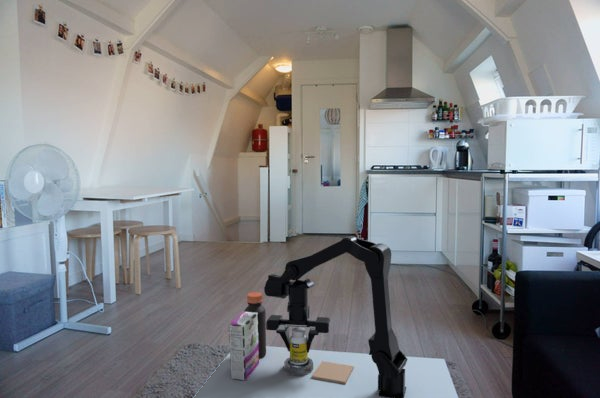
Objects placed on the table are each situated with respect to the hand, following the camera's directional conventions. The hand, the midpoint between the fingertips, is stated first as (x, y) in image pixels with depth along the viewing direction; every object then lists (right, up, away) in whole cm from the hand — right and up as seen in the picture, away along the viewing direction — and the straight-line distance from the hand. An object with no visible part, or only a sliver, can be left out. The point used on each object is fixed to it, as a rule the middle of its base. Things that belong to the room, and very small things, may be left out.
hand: (298, 351), depth 126 cm
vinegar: (-14, -5, +10) cm, 18 cm away
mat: (+10, -5, -2) cm, 12 cm away
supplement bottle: (0, -3, 0) cm, 3 cm away
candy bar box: (-16, -6, -1) cm, 17 cm away
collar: (0, -5, 0) cm, 5 cm away
